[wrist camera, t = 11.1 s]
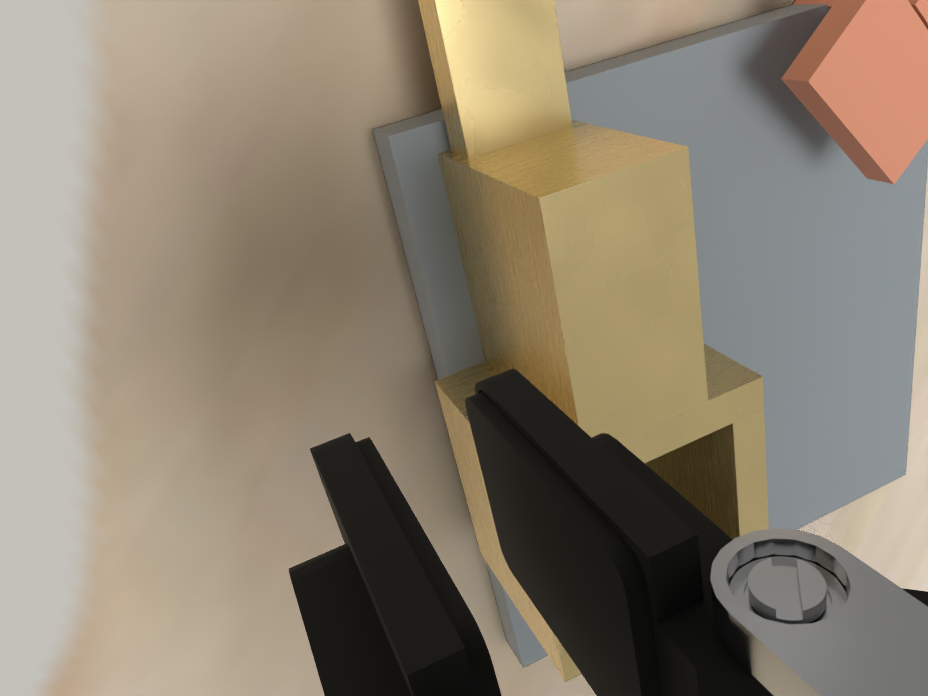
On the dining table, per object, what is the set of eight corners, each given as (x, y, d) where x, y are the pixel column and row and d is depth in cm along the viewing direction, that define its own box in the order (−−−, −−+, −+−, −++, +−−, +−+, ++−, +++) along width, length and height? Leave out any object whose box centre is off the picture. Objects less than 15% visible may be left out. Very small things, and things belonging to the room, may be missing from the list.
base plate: (877, 457, 35) (905, 474, 34) (506, 640, 31) (523, 668, 29) (901, -28, 26) (941, -30, 25) (372, 129, 21) (388, 136, 20)
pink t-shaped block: (782, 160, 27) (894, 184, 23) (699, 71, 25) (808, 81, 21) (872, 33, 27) (1002, 36, 23) (796, -71, 24) (928, -88, 20)
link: (653, 473, 28) (770, 575, 23) (480, 553, 27) (565, 682, 21) (588, -56, 20) (745, -81, 15) (334, 9, 18) (414, 6, 13)
